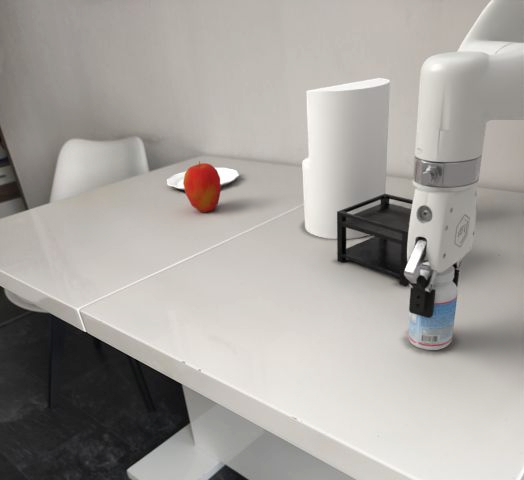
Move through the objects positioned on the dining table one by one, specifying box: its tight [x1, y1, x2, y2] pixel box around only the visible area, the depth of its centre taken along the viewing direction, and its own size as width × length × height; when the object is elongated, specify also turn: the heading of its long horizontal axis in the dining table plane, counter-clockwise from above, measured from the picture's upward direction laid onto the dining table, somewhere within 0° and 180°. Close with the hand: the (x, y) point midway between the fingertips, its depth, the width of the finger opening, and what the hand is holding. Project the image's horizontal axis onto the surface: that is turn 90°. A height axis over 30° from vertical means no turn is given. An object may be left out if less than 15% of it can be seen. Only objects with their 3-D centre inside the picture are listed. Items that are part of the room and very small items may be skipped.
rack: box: [336, 193, 428, 287], centre depth 97 cm, size 16×13×10 cm
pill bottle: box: [407, 262, 459, 351], centre depth 74 cm, size 6×6×11 cm
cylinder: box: [301, 77, 391, 240], centre depth 111 cm, size 17×17×28 cm
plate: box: [166, 167, 240, 191], centre depth 156 cm, size 21×21×2 cm
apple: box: [183, 161, 222, 213], centre depth 132 cm, size 9×9×12 cm
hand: (433, 303), depth 74 cm, fingers closed on pill bottle, 6 cm apart
